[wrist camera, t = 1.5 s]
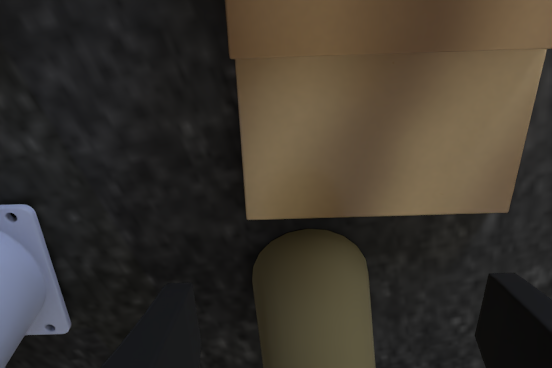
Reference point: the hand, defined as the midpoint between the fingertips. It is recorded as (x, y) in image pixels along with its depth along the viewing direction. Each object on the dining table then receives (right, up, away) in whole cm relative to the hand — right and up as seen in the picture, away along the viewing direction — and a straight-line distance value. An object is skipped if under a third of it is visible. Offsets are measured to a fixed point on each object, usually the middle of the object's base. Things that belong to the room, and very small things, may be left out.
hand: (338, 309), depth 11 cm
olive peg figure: (0, -2, +13) cm, 13 cm away
